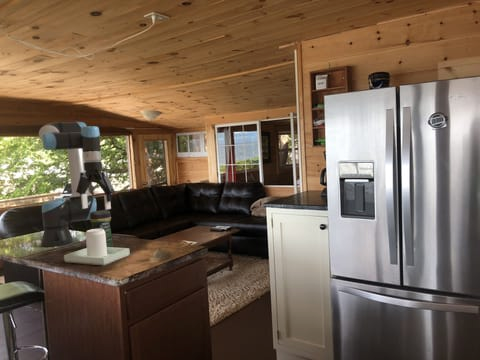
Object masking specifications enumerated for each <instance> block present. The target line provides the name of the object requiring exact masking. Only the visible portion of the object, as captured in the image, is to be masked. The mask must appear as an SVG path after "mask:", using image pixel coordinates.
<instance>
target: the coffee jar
mask: <svg viewBox="0 0 480 360" xmlns="http://www.w3.org/2000/svg"><path fill="white" fill-rule="evenodd" d="M111 220H112V215H111V211H110V210H109V209H107V210H106V209H101V210H96V211H94V212H91V213H90V219H89V222H90V224H91V229H104V231H105V235H106V247H114V242H113V241H114V240H113V235H112V229H111Z"/></svg>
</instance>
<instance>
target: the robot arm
mask: <svg viewBox="0 0 480 360" xmlns="http://www.w3.org/2000/svg"><path fill="white" fill-rule="evenodd" d="M100 135H101V133H100V127H98V126H97V125H96V126H93V125H91V126H90V125H89V126H87V124H86V123H85V122H83V121H53V122H50V123H47V124H44V125H42V126H41V127H40V128H39V130H38V138H39V139H40V140H41V141H42V147H43V149H44V150H45V151H57V150H58V151H59V150H67V157H68V166H69V176H70V185H71V195H70V196H69V200H67V199H66V198H64V197H63V198H61V197H60V198H56V199H52V200H47V201H45V202H43V203H42V204H41V214H42V224H43V233H42V238H41V242H40V243H41V247H44V248H45V247H49V248H50V247H59V246H64V245H69V244H71V243H73V242H74V241H73V240H74V239H73V235H72V233H71V231H70V229H69V224H68V223H73V222H81V221H88V220H89V221H90V213H91V212H94V211H97V199H96V197H93V194H92V193H91V192H90V190H89V188H90V185H91V184H92V183H96V184H97V185H98V186H99V187H100V188H101V190H102V191H103V192H104V195H103V196H104V197H103V198H104V199H103V200H104V210H111V209H112V206H111V204H112V203H111V202H112V194H113V193H115V188H114V187H113V184H112V182H111V180H110V178H109V175H108V172H107V171H102V169H103V163H102V161H101V160H102V151H101V136H100Z"/></svg>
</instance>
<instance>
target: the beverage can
mask: <svg viewBox="0 0 480 360" xmlns="http://www.w3.org/2000/svg"><path fill="white" fill-rule="evenodd" d="M85 243H86V248H87V256H90V257H105V256H106V255H107V247H106V235H105V231H104V229H92V228H91V229H89V230H86V233H85Z"/></svg>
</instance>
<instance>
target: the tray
mask: <svg viewBox="0 0 480 360" xmlns="http://www.w3.org/2000/svg"><path fill="white" fill-rule="evenodd" d="M130 255H131V254H130V248H127V247H114V246H112V247H107V255H106V256H105V257H90V256H87V247H86V248H82V249H79V250H75V251H71V252H69V253H66V254H64V255H63V258H64V259H63V260H64V263H73V264H83V265H95V266H107V265H109V264H112V263H113V262H116V261H119V260H121V259H123V258H126V257H129V256H130Z"/></svg>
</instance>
